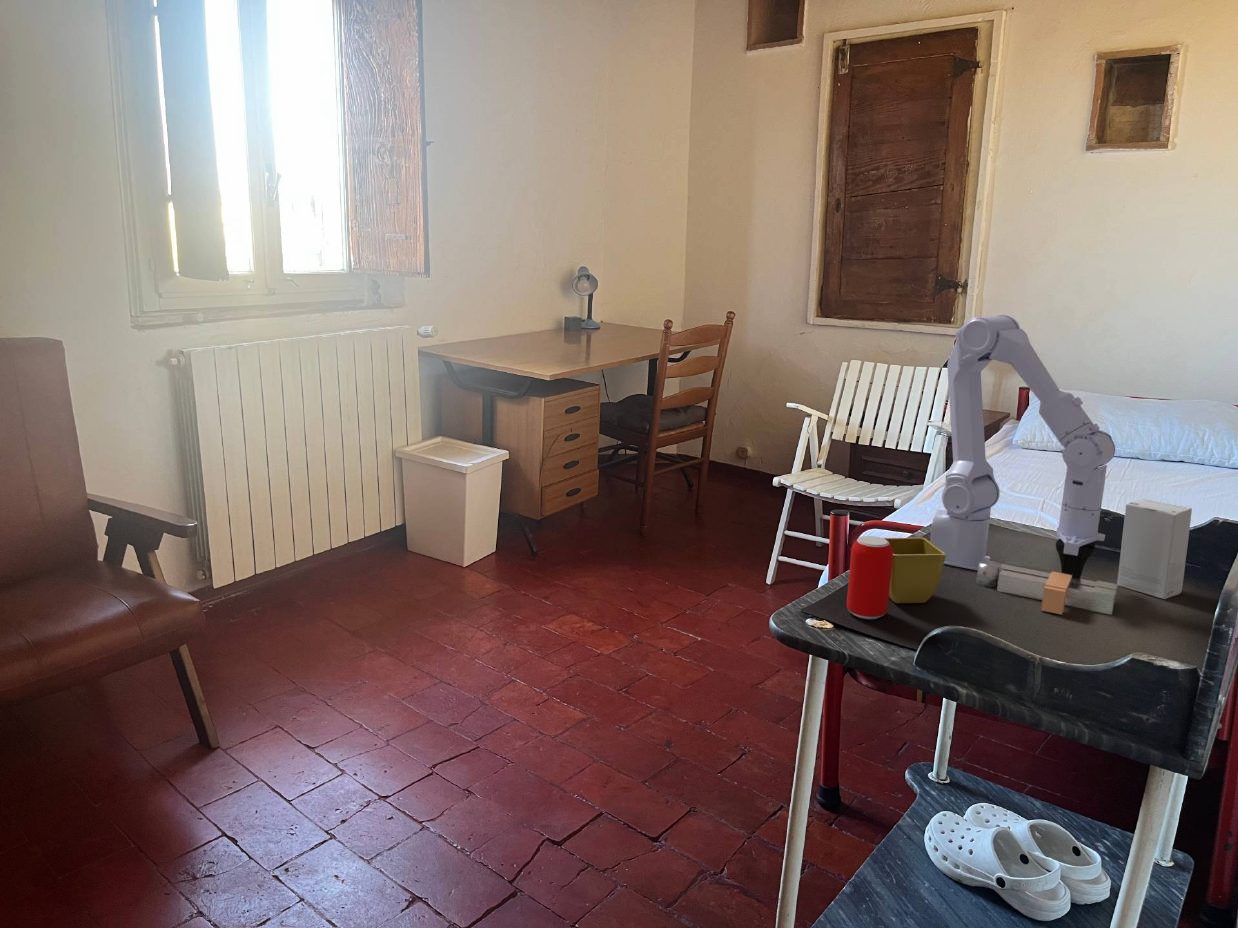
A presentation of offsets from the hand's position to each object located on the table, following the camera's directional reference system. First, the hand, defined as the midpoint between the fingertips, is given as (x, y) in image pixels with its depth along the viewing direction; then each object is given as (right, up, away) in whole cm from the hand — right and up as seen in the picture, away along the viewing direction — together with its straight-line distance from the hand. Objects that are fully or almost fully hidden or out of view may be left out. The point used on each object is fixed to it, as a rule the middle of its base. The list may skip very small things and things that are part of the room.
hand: (1069, 584), depth 151 cm
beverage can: (-37, -3, -10) cm, 38 cm away
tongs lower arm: (-4, -2, -3) cm, 6 cm away
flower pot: (-29, -2, -3) cm, 29 cm away
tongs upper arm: (-5, -1, 0) cm, 5 cm away
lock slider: (-5, -2, -5) cm, 8 cm away
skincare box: (+14, -1, +3) cm, 14 cm away
